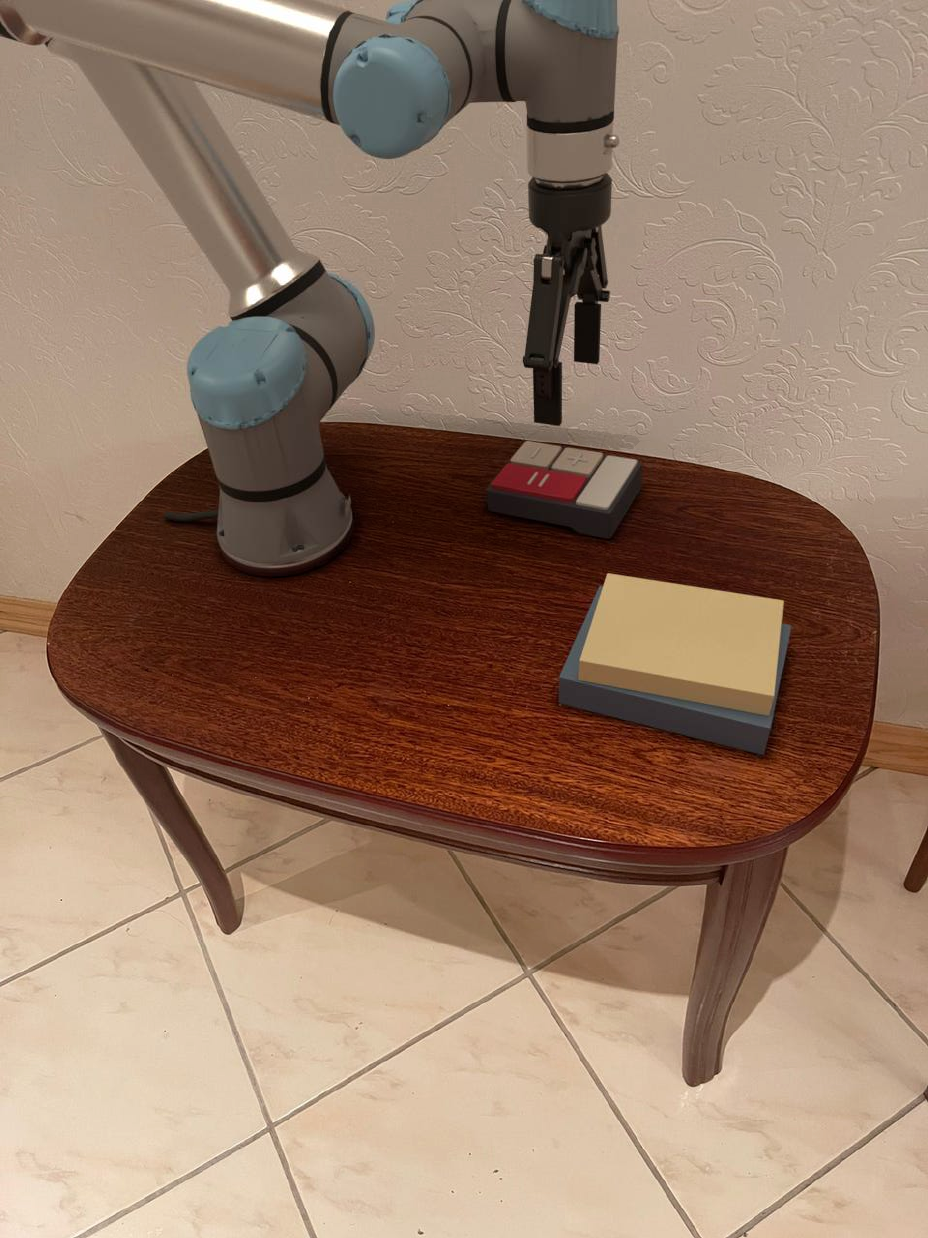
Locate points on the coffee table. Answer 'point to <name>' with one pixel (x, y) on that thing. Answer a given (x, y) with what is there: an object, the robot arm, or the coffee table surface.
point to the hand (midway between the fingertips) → (568, 390)
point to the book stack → (680, 660)
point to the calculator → (567, 488)
